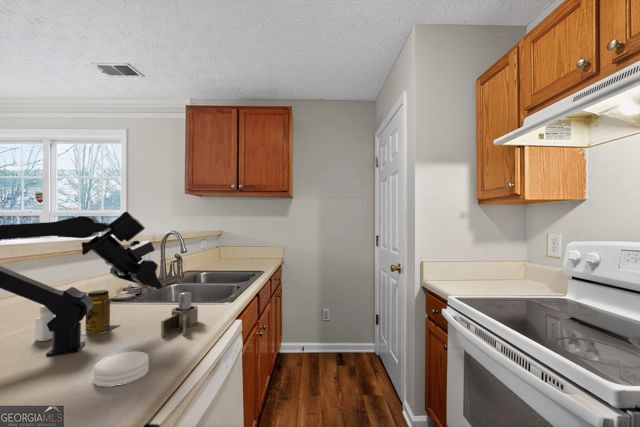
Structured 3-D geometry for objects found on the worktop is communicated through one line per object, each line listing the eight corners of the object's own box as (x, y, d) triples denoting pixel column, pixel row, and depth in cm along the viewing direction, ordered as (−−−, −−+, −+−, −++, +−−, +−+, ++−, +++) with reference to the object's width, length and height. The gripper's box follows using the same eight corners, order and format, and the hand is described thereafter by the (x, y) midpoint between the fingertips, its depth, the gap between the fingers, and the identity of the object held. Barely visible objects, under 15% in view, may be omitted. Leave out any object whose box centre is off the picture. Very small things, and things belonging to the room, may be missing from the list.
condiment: (77, 335, 91) (78, 294, 91) (97, 325, 99) (98, 288, 100) (103, 334, 91) (103, 293, 92) (120, 325, 100) (121, 287, 100)
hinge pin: (190, 325, 99) (191, 293, 99) (178, 326, 98) (178, 294, 98) (190, 321, 102) (191, 291, 103) (178, 323, 101) (179, 292, 101)
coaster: (80, 389, 61) (81, 371, 61) (114, 366, 71) (114, 350, 71) (131, 388, 61) (131, 370, 61) (157, 365, 71) (157, 350, 71)
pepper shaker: (42, 342, 85) (43, 307, 86) (34, 340, 87) (34, 306, 87) (59, 337, 89) (60, 304, 89) (50, 335, 90) (51, 303, 91)
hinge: (198, 333, 91) (198, 316, 91) (160, 339, 87) (160, 321, 87) (197, 319, 105) (197, 304, 105) (164, 323, 101) (164, 307, 101)
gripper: (150, 231, 85) (188, 267, 93) (122, 231, 96) (158, 263, 104) (118, 263, 78) (161, 298, 87) (91, 259, 89) (132, 290, 98)
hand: (153, 286), depth 94 cm, fingers open, 9 cm apart
